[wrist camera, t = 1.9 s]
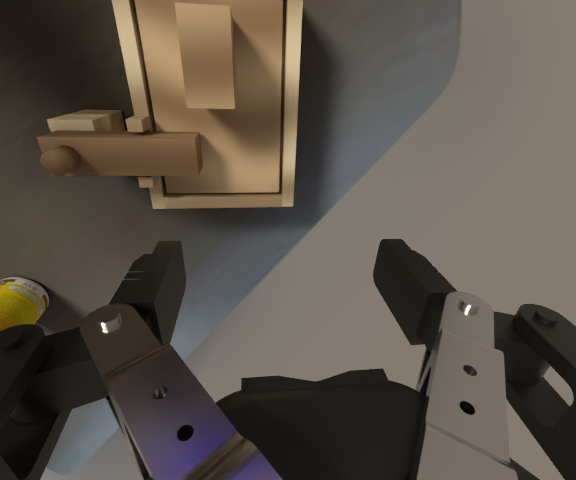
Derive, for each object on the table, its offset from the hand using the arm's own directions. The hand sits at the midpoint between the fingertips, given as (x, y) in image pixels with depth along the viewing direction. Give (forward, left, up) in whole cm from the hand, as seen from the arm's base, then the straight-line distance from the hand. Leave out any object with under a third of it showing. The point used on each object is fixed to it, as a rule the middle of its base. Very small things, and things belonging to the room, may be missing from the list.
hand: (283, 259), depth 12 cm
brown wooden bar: (-1, -10, -15) cm, 18 cm away
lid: (-4, -3, -16) cm, 17 cm away
